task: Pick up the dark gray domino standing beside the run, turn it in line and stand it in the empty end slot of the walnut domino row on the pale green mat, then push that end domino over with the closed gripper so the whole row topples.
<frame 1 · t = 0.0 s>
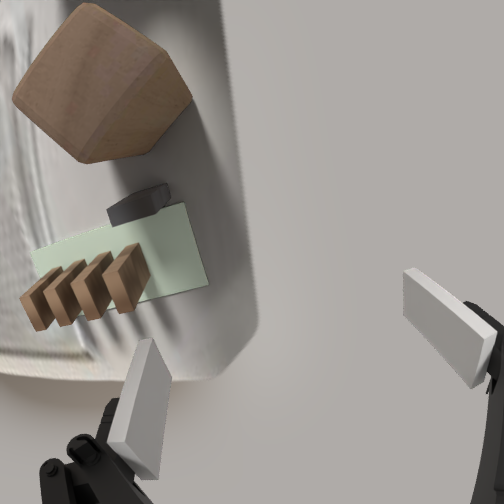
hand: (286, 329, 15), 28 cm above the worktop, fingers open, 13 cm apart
domino end: (62, 282, 42), resting on mat
domino c: (110, 268, 42), resting on mat
domino d: (138, 260, 42), resting on mat
block: (142, 104, 36), on the worktop
domino b: (85, 275, 42), resting on mat
dark gray domino: (151, 195, 40), on the worktop
mat: (111, 267, 42), on the worktop
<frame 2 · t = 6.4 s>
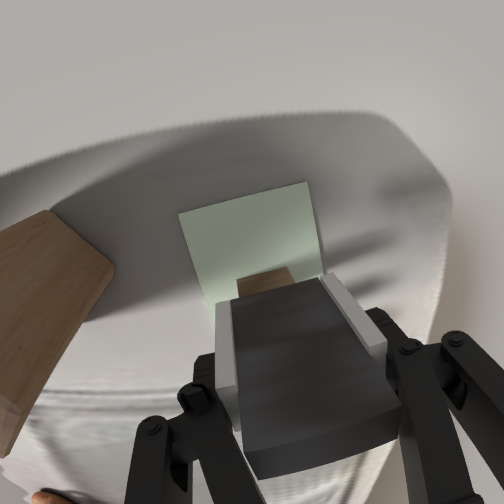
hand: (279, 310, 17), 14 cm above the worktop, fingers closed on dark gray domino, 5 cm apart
ceramic jug: (60, 499, 47), on the worktop
domino d: (263, 282, 31), resting on mat
block: (63, 269, 29), on the worktop
dark gray domino: (277, 303, 18), point 13 cm above the worktop, touching gripper
mat: (272, 318, 33), on the worktop
when the fingers open (2 cm above the worktop, at t = 8.6 s): dark gray domino stays where it is, resting on mat.
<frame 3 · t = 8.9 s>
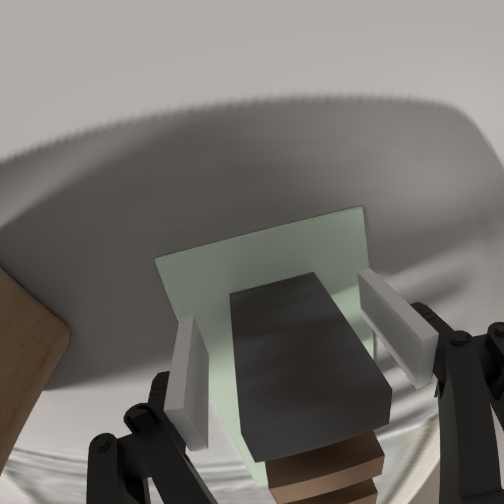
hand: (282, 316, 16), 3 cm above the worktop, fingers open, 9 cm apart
domino c: (298, 398, 22), resting on mat
domino d: (288, 354, 20), resting on mat
block: (8, 325, 18), on the worktop
dark gray domino: (275, 297, 18), resting on mat
mat: (297, 395, 22), on the worktop
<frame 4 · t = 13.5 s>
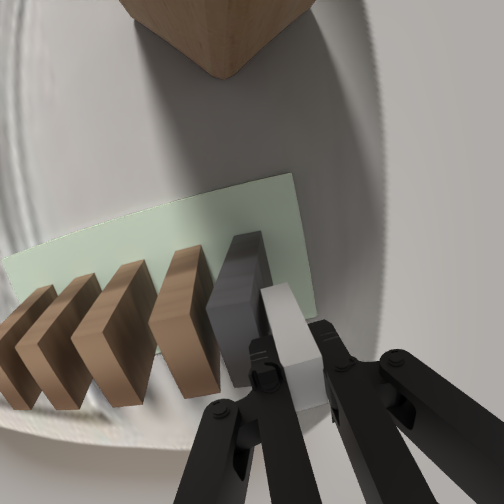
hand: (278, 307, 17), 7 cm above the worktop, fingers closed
domino end: (56, 311, 24), resting on mat
domino c: (143, 291, 24), resting on mat
domino d: (197, 278, 24), resting on mat
block: (220, 4, 18), on the worktop
domino b: (96, 302, 24), resting on mat
dark gray domino: (255, 264, 24), point 1 cm above the worktop, tilted 10°, touching gripper, mat
mat: (144, 288, 24), on the worktop
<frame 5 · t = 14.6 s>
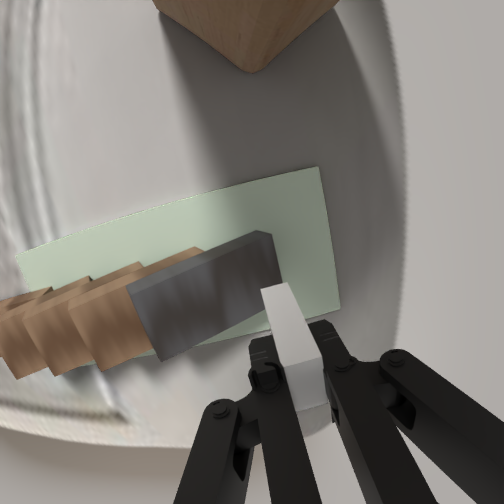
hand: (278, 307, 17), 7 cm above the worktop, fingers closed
domino end: (58, 316, 23), point 1 cm above the worktop, tilted 90°, touching domino b, mat
domino c: (152, 293, 23), point 1 cm above the worktop, tilted 64°, touching domino b, domino d, mat
domino d: (209, 280, 23), point 1 cm above the worktop, tilted 64°, touching domino c, dark gray domino
domino b: (101, 306, 23), point 1 cm above the worktop, tilted 64°, touching domino c, domino end
dark gray domino: (271, 264, 23), point 1 cm above the worktop, tilted 64°, touching domino d, mat
mat: (168, 283, 24), on the worktop
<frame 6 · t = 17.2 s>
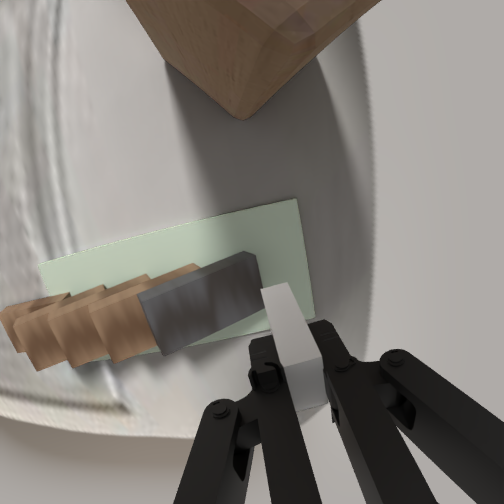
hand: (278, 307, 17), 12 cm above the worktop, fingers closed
domino end: (75, 318, 27), point 1 cm above the worktop, tilted 90°, touching domino b, mat
domino c: (157, 301, 28), point 1 cm above the worktop, tilted 64°, touching domino b, domino d, mat
domino d: (204, 290, 28), point 1 cm above the worktop, tilted 64°, touching domino c, dark gray domino
block: (239, 50, 23), on the worktop
domino b: (113, 310, 28), point 1 cm above the worktop, tilted 64°, touching domino c, domino end
dark gray domino: (255, 279, 28), point 1 cm above the worktop, tilted 64°, touching domino d, mat
mat: (170, 292, 29), on the worktop
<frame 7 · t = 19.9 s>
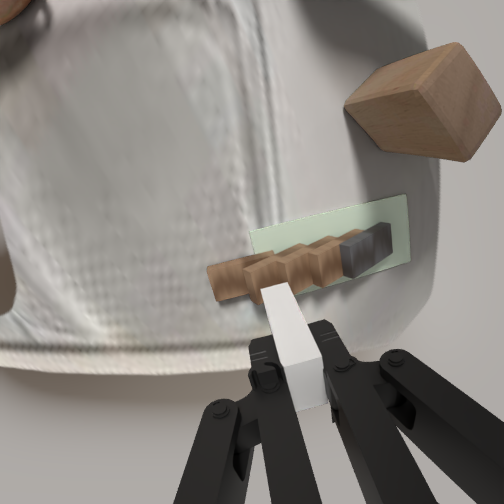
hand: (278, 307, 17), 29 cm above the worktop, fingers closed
domino end: (277, 267, 47), point 1 cm above the worktop, tilted 90°, touching domino b, mat
domino c: (335, 251, 47), point 1 cm above the worktop, tilted 64°, touching domino b, domino d, mat
domino d: (361, 244, 47), point 1 cm above the worktop, tilted 64°, touching domino c, dark gray domino
block: (380, 109, 42), on the worktop
domino b: (306, 259, 47), point 1 cm above the worktop, tilted 64°, touching domino c, domino end
dark gray domino: (386, 237, 47), point 1 cm above the worktop, tilted 64°, touching domino d, mat
mat: (338, 247, 49), on the worktop
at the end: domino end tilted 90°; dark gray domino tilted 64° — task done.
